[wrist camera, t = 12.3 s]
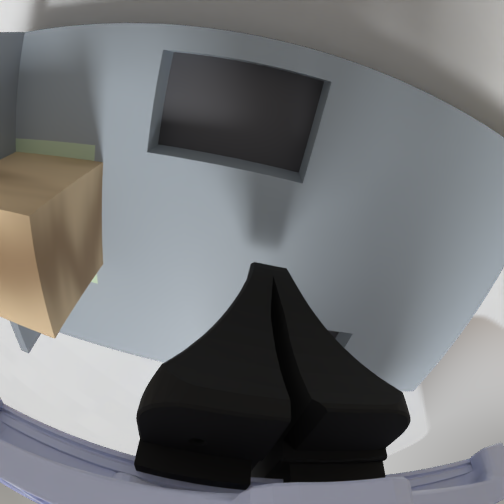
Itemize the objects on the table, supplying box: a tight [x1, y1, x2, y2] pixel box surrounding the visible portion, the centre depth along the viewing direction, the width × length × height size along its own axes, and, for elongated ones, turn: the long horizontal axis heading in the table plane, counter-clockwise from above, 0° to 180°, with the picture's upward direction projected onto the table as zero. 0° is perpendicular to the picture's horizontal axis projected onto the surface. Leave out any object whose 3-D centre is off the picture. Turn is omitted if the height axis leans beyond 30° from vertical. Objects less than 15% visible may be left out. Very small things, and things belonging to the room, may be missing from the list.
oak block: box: [0, 152, 103, 338], centre depth 10 cm, size 5×5×5 cm
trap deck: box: [0, 23, 504, 391], centre depth 13 cm, size 17×26×4 cm, turn 78°
